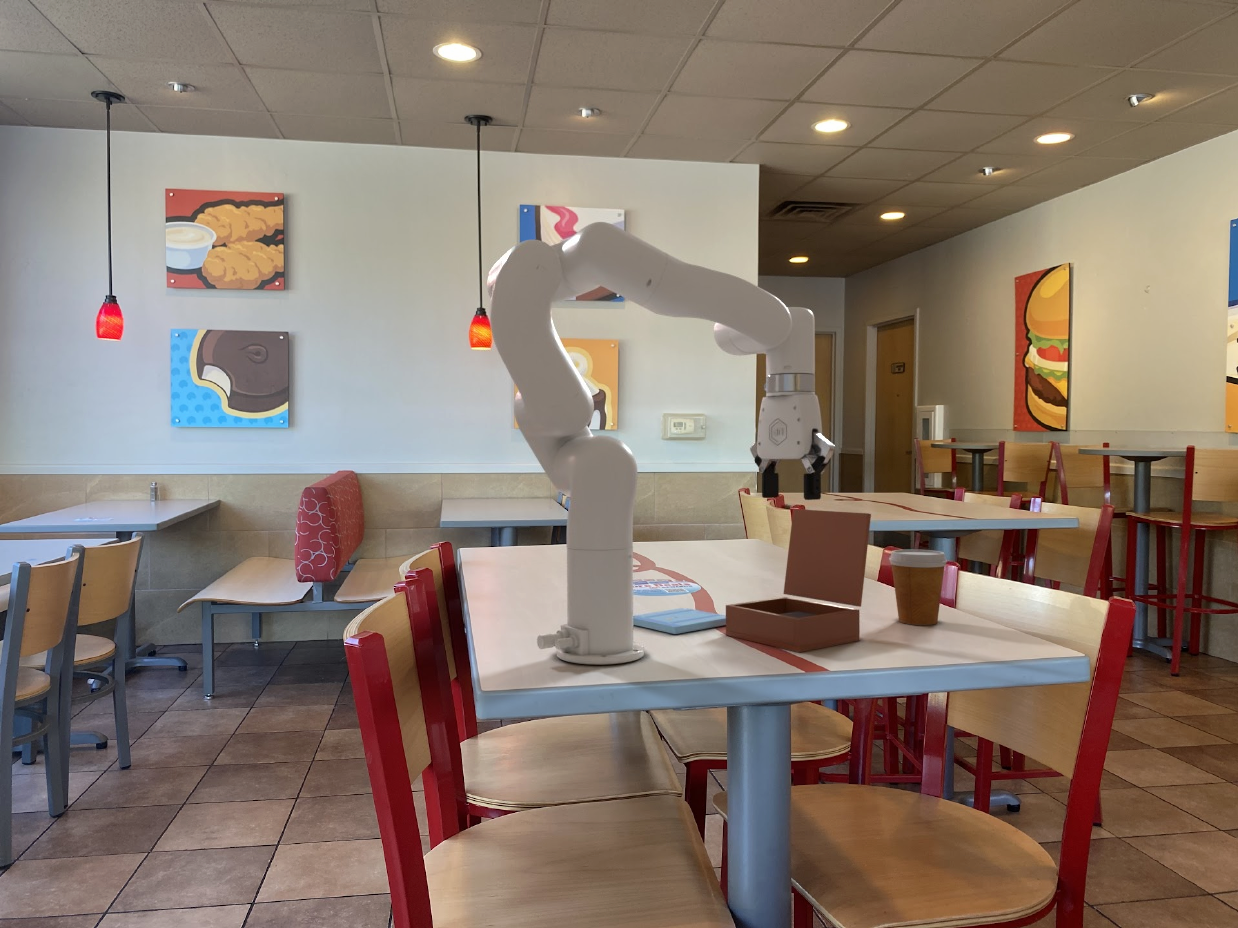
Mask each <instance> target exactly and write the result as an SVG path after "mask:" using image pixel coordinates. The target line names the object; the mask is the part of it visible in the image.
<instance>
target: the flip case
mask: <svg viewBox="0 0 1238 928" xmlns="http://www.w3.org/2000/svg"><path fill="white" fill-rule="evenodd" d="M796 611H799V612H805V613H810V614H816V615H815V616H809V617H803V618H795V617H790V616H785V615H780V614H784V613H790V612H796ZM725 616H726V625H725V636H729V637H732V638H736V639H741V640H744V641H745V640H746V641H748V642H749V641H750V642H753V643H758V644H763V645H767V646H769V647H770V646H771V647H775V648H779V649H782V650H788V651H792V652H796V653H803V652H809V651H815V650H819V649H823V648H828V647H833V646H838V645H843V644H849V643H854V642H857V641H858V642H860V640H861V639H860V638H861V636H860V635H861V634H860V628H861V627H860V621H861V619H860V618H861V617H860V609H859V608H852V607H847V606H840V605H835V604H829V603H823V602H817V601H811V600H805V599H799V598H794V597H788V596H781V597H775V598H774V597H773V598H767V599H759V600H752V601H746V602H739V603H732V604H725Z"/></svg>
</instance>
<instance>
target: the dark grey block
mask: <svg viewBox="0 0 1238 928" xmlns="http://www.w3.org/2000/svg"><path fill="white" fill-rule="evenodd" d="M780 615H785V616H790V617H795V618H803V617H809V616H815V615H816V614H810V613H805V612H799V611H796V612H790V613H784V614H780Z"/></svg>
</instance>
